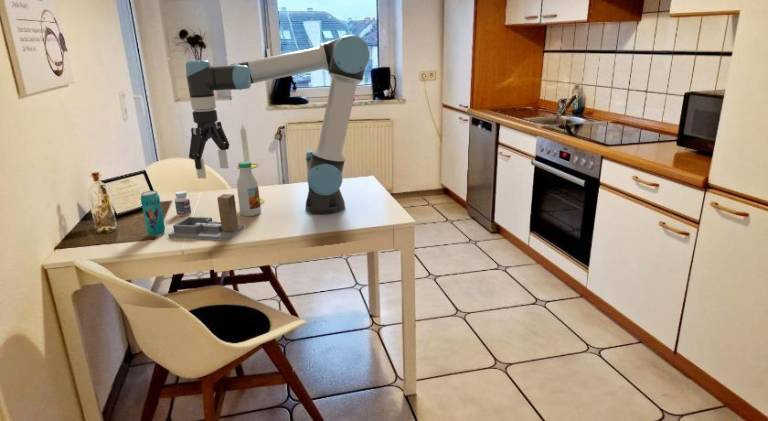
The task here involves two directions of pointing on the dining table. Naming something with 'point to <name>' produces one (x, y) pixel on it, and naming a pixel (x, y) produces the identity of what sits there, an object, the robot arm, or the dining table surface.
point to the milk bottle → (248, 191)
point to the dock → (201, 229)
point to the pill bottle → (182, 204)
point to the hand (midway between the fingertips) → (213, 173)
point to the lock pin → (226, 213)
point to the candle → (246, 151)
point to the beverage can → (152, 213)
